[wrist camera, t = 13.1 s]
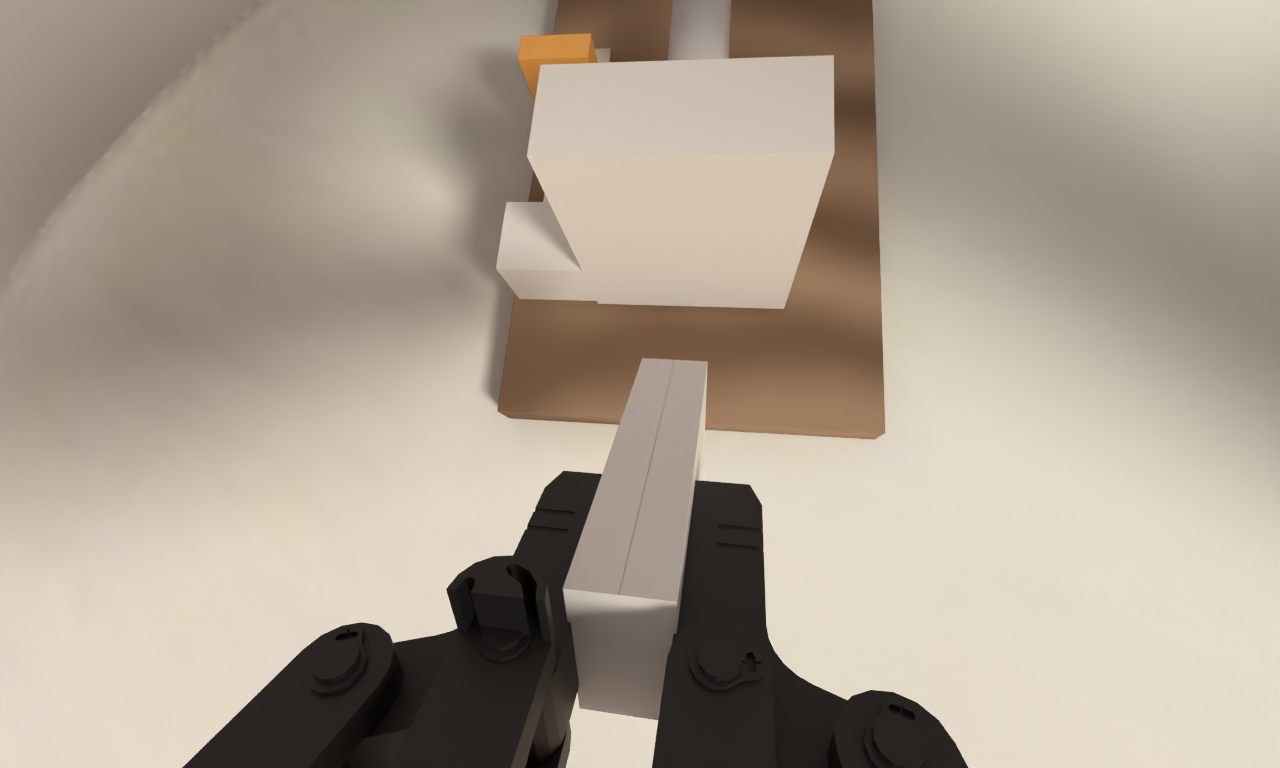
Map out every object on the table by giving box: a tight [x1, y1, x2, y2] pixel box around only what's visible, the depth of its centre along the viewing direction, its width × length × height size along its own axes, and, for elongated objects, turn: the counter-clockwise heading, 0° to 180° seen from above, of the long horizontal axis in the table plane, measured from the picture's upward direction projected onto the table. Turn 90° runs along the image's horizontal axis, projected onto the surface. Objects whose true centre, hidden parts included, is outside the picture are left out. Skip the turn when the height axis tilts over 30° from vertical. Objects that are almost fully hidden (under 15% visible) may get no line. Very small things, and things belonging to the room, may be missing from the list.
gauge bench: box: [498, 0, 885, 439], centre depth 23 cm, size 33×16×12 cm, turn 175°
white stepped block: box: [496, 0, 835, 309], centre depth 21 cm, size 12×12×10 cm
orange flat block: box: [518, 33, 598, 101], centre depth 25 cm, size 1×3×4 cm, turn 85°
